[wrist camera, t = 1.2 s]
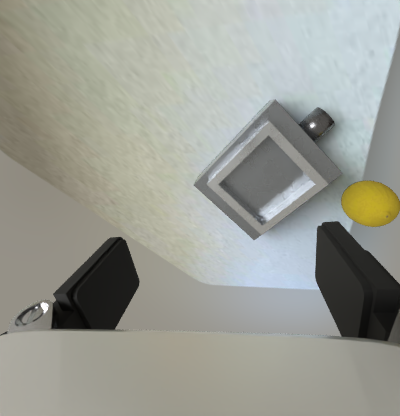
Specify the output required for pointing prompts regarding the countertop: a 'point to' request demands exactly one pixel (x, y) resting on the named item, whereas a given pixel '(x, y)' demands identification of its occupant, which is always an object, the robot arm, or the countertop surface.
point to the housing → (269, 168)
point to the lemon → (370, 203)
